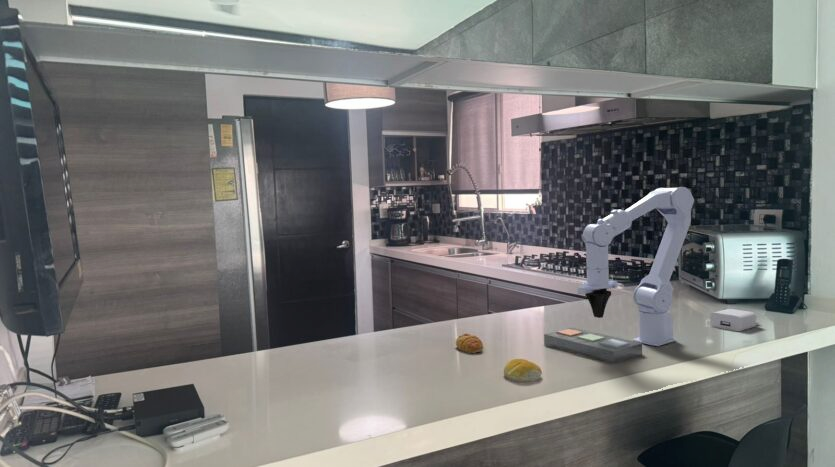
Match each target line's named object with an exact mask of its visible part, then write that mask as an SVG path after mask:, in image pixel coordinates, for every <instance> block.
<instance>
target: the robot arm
mask: <svg viewBox="0 0 835 467" xmlns="http://www.w3.org/2000/svg"><path fill="white" fill-rule="evenodd" d="M694 202H695V199H694V196H693V195H692V193H691V190H690V189H689V188H687V187H685V186H679V187H658V188H656V189H655V190H652V191H650V192H649V193H648V194H647V195H645V196H644V197H643V198H641V199H640V200H638V201H637V202H636V203H634V204H633V205H631V206H630V207H628V208H626V209H625V210H623V209H612V210H611V211H610V214H609V215H607V216H605V217H603V218H599V219H598V220H597V222H596V223H591V224H587V226H586V227H585V228H584V229H583V231H582V232H583V233H582V234H581V239H582V241H583V243H584V244H585V249H586V250H585V251H586V252H585V253H586V254H585V255H586V257H585V259H586V260H585V261H586V282H584V283H583V285H580V286H577V294H578V295H583V296H584V295H585V297H586V298H587V300H588V302H589V304H590V307H591V311H592V314H593V317H594V318H599V319H602V318H603V317H604V314H605V310H606V307H607V303H608V301H609V300H610V297H611V296H612V291H611V290H609V289H617V288H618V281H617V280H610V275H609V274H610V273H609V270H610V268H609V245H610V244H611V242H612V240H613V238H614V237H616V236H618V235H620V234H622V232H624V231H626V230H628V229H629V228H630V227H631V226H632V223H633V221H635V220H636V219H637V218H640V217H642V216H643V215H646V214H648V213H649V212H651V211H653V210H655V209H656V210H657V211H658V212H659V213H660V214H661V215H662V216H663V218H665V220H666V222H667V224H666V227H665V231H664V233H663V235H662V239H661V242H660V244H659V247H658V249H657V252H656V254H655V258H654V260H653V262H652V266H651V268H650V271H649V274H648V275H646V276H644V277H643V278H642V279H641V280H640V283H639V285H637V286H636V288H635V289H634V291H633V293H632V299H633V301H634V304H636V305H637V309H638V337H635V338H632V339H631V341H635V342H639V343H642V344H645V345H650V346H653V347H654V346H655V347H659V346H662V345H666V344H670V343H672V342H675V341H677V339H676V338H674V317H673V314H672V313H671V311H670V310H669V309H670V308H671V306H672V304H673V294H674V290H675V288H674V286H673V285H672V283H671V281H670V280H671V277H672V275H673V272H674V270H675V268H676V264H677V261H678V258H679V255H680V252H681V250H682V247H683V245H684V242H685V239H686V236H687V234H688V231H689V228H690V226H691V221H692V214H691V213H692V208H693V205H694Z"/></svg>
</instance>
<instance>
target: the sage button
mask: <svg viewBox="0 0 835 467" xmlns="http://www.w3.org/2000/svg"><path fill="white" fill-rule="evenodd" d="M578 339H581V340H585V341H589V342H596V341H600V340H604V339H605V337H602V336H597V335H593V334H587V335H583V336H579V337H578Z"/></svg>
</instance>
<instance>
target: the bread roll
mask: <svg viewBox="0 0 835 467" xmlns="http://www.w3.org/2000/svg"><path fill="white" fill-rule="evenodd" d="M542 374H543V371H542V369H541V367H540V366H539V365H537V364H536V363H534V362H532V361H529V360H528V359H525V358H514V359H511V360H510V361H508V362H507V363H506V364H505V365H504V368H503V375H504V377H506V378H507V379H510V380H511V381H514V382H518V383H529V382H536V381H539V379H540V378H541V376H542Z"/></svg>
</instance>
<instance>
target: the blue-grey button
mask: <svg viewBox="0 0 835 467" xmlns="http://www.w3.org/2000/svg"><path fill="white" fill-rule="evenodd" d="M600 344H602V345H606V346H610V347H614V348H620V347H623V346H627V345H629V343H628V342H623V341H619V340H615V339H611V340H607V341H603V342H600Z"/></svg>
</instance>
